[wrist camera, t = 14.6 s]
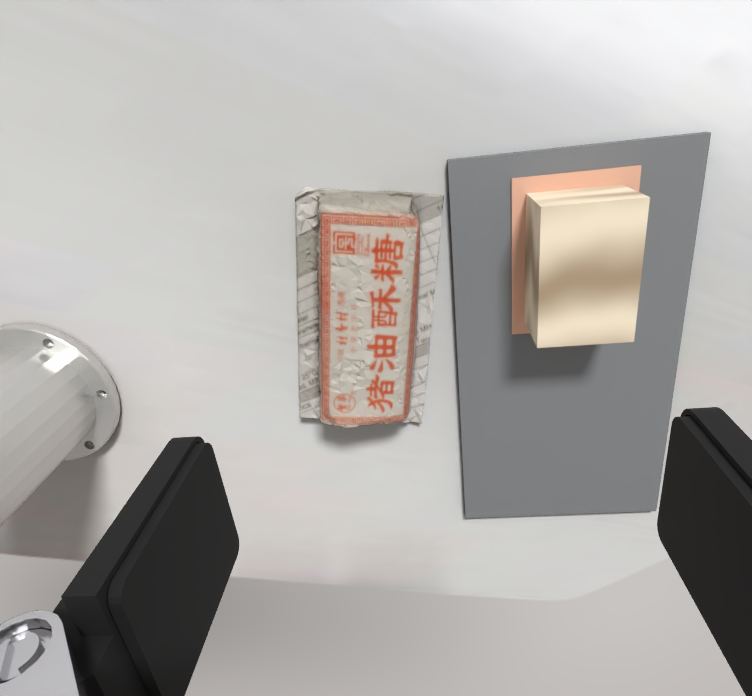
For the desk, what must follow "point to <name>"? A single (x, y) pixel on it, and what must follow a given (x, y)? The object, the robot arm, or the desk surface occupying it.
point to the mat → (568, 363)
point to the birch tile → (584, 265)
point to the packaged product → (365, 303)
